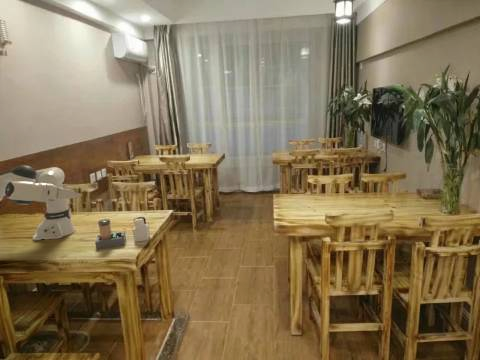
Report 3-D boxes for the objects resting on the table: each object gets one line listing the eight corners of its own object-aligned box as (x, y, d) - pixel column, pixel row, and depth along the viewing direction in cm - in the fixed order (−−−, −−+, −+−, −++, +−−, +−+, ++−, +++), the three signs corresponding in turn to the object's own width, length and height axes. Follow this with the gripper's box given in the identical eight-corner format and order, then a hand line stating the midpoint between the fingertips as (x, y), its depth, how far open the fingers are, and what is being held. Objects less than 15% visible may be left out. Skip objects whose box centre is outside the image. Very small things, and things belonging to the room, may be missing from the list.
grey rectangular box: (96, 249, 181) (94, 240, 180) (99, 242, 190) (97, 233, 189) (124, 244, 184) (123, 235, 183) (125, 238, 194) (124, 229, 192)
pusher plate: (113, 243, 184) (112, 236, 183) (115, 238, 191) (114, 232, 190) (118, 242, 185) (117, 236, 184) (119, 237, 191) (118, 231, 190)
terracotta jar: (100, 245, 183) (97, 223, 181) (102, 241, 189) (99, 219, 186) (112, 243, 184) (109, 222, 182) (113, 239, 190) (110, 218, 187)
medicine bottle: (137, 237, 194) (134, 216, 191) (150, 235, 195) (147, 215, 192) (134, 242, 187) (131, 220, 184) (147, 240, 188) (144, 219, 185)
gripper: (39, 199, 172) (68, 201, 181) (53, 199, 157) (84, 201, 167) (41, 186, 172) (70, 189, 182) (55, 185, 158) (86, 188, 168)
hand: (77, 195), depth 174 cm, fingers open, 8 cm apart
